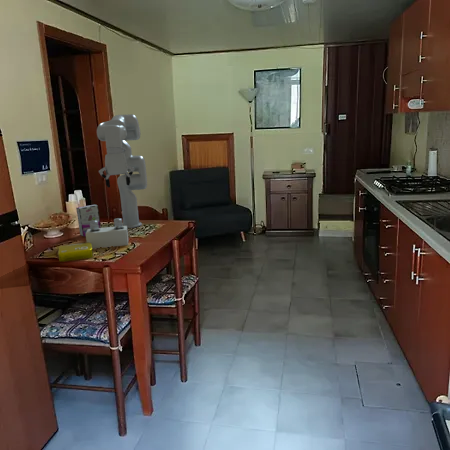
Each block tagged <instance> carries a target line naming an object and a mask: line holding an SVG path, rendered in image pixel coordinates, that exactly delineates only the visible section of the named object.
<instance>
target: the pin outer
mask: <svg viewBox="0 0 450 450" xmlns="http://www.w3.org/2000/svg"><path fill="white" fill-rule="evenodd" d="M90 229H91V232H96V231H99V227H98V220H92V221H90Z"/></svg>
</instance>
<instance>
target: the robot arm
mask: <svg viewBox="0 0 450 450" xmlns="http://www.w3.org/2000/svg"><path fill="white" fill-rule="evenodd" d="M139 123H140V122H139V120H138V118H137V116H136V115H135V114H128V113H127V114H117V115H113V117H112V118H111V119H110V120H108V121H104V122H101V123H100V124H98V126H97V128H96V136H97V138H98V140H100V141H101V142H105V148H106V154H105V157H104V167H102V168H101V169H100V170H98V173H99V174H100V176H101V177H102V178H103V179H105V180H104V181H105V185H106V187H107V188H111V184H110V182H111V181H110V179H109V178H110V176H116V175H119V176H118V177H117V181H116V182H117V186H118V187H117V188H118V190H119V195H120V196H119V197H120V205H121V215H122V226H127V229H134V228H139V227H141V226H142V225H143V223H142V222H141V221H140V219H139V218H140V217H139V207H138V198H137V195H136V194H135V193H134V192H133V191H140V190H145V189H147V187H148V175H147V166H146V160H145V158H144V157H143V155H133V153H132V152H133V151H132V146H131V145H130V144H129V143H128V142H127V141H138V140H139V139H140V138H141V135H142V134H141V128H140V124H139ZM104 172H105V174H104ZM135 172H137V173H135ZM134 173H135V174H134Z"/></svg>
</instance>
